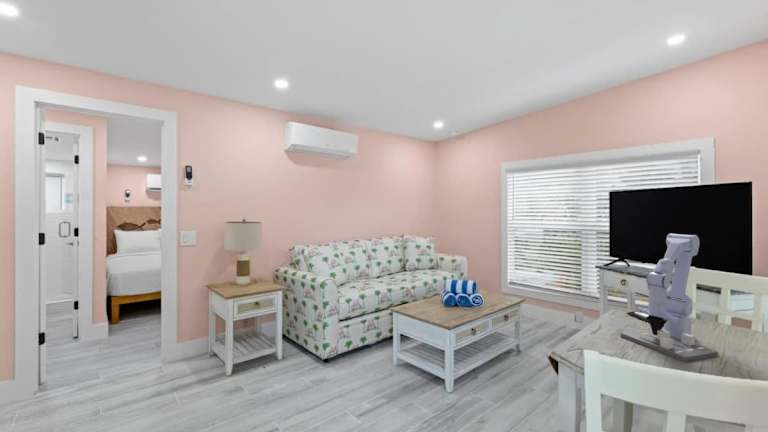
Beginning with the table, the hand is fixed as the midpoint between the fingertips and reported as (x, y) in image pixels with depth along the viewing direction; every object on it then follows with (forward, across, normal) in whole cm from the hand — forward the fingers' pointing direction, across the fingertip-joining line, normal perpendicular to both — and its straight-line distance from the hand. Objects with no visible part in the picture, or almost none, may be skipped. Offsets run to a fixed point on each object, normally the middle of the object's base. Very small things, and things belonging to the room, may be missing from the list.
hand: (656, 334), depth 139 cm
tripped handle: (+1, +3, 0) cm, 3 cm away
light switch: (+4, -20, +28) cm, 35 cm away
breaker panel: (+3, +4, 0) cm, 5 cm away
